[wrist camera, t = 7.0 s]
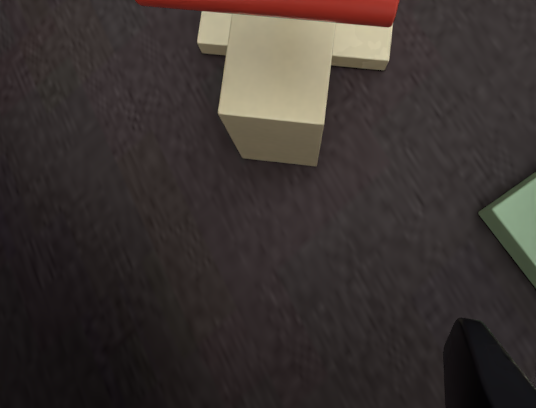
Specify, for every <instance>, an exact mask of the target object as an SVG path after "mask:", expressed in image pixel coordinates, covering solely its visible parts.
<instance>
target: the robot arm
mask: <svg viewBox="0 0 536 408" xmlns="http://www.w3.org/2000/svg"><path fill="white" fill-rule="evenodd" d="M443 362H444V384H445V405H446V408H536V389H535V388H534V386H533V385H532V384H531V382H530V381H529V380H528V379H527V377H526V376H525V375H524V374H523V372H522V371H521V370H520V368H519V367H518V366H517V365H516V363H515V362H514V361H513V360H512V358H511V357H510V356H509V355H508V353H507V352H506V351H505V349H504V348H503V347H502V346H501V344H500V343H499V342H498V341H497V339H496V338H495V337H494V335H493V334H492V333H491V332H490V330H489V329H488V328H487V327H486V325H485V324H484V323H483V322H481V321H479V320H474V319H467V318H458V319H457V320H456V321H455V323H454V325H453V327H452V330H451V332H450V334H449V336H448V338H447V341H446V343H445V346H444V352H443Z"/></svg>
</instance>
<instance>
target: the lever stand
mask: <svg viewBox="0 0 536 408" xmlns="http://www.w3.org/2000/svg"><path fill="white" fill-rule="evenodd" d="M231 17H232V14H228V13H217V12H206V11H202V12H201V19H200V25H199V32H198V39H197V44H198V46H199V48H200V50H201V52H202V53H206V54H216V55H226V52H227V45H228V38H229V31H230V24H231ZM392 28H393V24H392V26H391V27H388V28H387V27H376V26H364V25H353V24H342V23H336V27H335V36H334V44H333V53H332V61H331V65H332V66H342V67H353V68H363V69H374V70H385V69H386V66H387V64H388V62H389V57H390V48H391V38H392Z"/></svg>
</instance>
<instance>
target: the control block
mask: <svg viewBox="0 0 536 408" xmlns="http://www.w3.org/2000/svg"><path fill="white" fill-rule="evenodd" d="M478 214H479V215H480V217H481V218H482V219H483V221H484V222H485V223H486V224H487V226H488V227H489V228H490V230H491V231H492V232H493V234H494V235H495V236H496V237H497V239H498V240H499V241H500V243H501V244H502V245H503V247H504V248H505V249H506V250H507V252H508V253H509V254H510V256H511V257H512V258H513V259H514V261H515V262H516V263H517V265H518V266H519V267H520V269H521V270H522V271H523V272H524V274H525V275H526V276H527V278H528V279H529V280H530V282H531V283H532V284H533V285H534V287H535V288H536V172H535V173H533V174H532V175H530V176H529V177H528V178H526V179H525V180H523V181H522V182H520V183H519V184H518V185H516V186H515V187H513V188H512V189H511V190H509V191H508V192H506V193H505V194H503V195H502V196H501V197H499V198H498V199H496V200H495V201H493V202H492V203H491V204H489V205H488V206H486V207H485V208H484V209H482V210H481V211H479V213H478Z"/></svg>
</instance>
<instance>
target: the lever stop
mask: <svg viewBox="0 0 536 408" xmlns="http://www.w3.org/2000/svg"><path fill="white" fill-rule="evenodd" d="M335 27H336V23H330V22H319V21H308V20H296V19H285V18H274V17H262V16H251V15H240V14H232V17H231V24H230V31H229V38H228V45H227V52H226V59H225V66H224V73H223V80H222V87H221V94H220V101H219V108H218V115H219V117H220V118H221V120H222V122H223V124H224V126H225V127H226V129H227V131H228V133H229V135H230V137H231V138H232V140H233V142H234V144H235V146H236V148H237V149H238V151H239V153H240V155H241V157H242V158H246V159H255V160H263V161H272V162H281V163H290V164H299V165H308V166H317V162H318V157H319V151H320V145H321V139H322V133H323V128H324V121H325V112H326V104H327V95H328V87H329V78H330V70H331V61H332V53H333V44H334V36H335Z"/></svg>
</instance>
